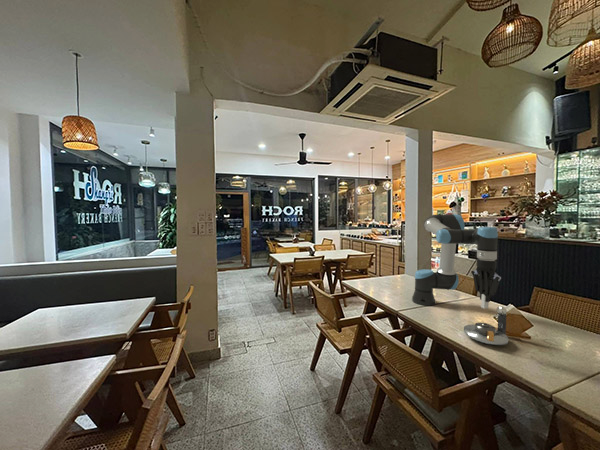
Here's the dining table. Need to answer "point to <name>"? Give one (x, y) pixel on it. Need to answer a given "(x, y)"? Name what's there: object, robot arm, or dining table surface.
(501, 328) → the indicator post
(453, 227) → the robot arm
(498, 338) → the platter
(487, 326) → the cover
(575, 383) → the dining table surface
